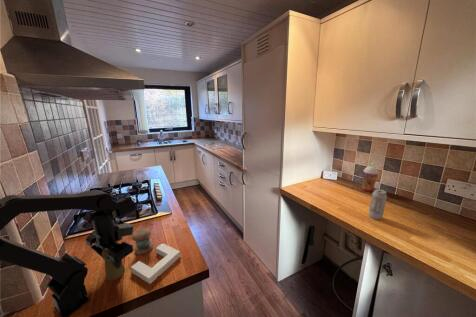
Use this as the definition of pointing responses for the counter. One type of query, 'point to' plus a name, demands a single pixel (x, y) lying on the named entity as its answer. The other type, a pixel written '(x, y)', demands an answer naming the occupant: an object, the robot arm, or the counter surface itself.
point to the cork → (111, 267)
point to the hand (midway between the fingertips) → (113, 264)
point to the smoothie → (369, 178)
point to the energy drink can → (377, 204)
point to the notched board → (152, 273)
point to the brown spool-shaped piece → (142, 241)
